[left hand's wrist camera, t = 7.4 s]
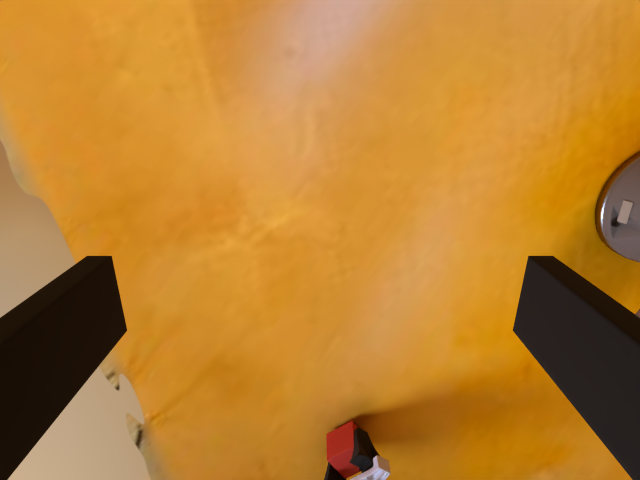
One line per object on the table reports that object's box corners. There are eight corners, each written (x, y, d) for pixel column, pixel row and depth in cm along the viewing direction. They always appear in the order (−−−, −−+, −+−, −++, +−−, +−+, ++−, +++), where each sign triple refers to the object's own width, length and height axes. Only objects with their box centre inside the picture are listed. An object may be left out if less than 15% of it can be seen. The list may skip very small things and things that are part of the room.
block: (352, 420, 62) (354, 446, 57) (368, 439, 63) (372, 465, 59) (326, 433, 63) (326, 460, 58) (343, 452, 64) (344, 479, 60)
